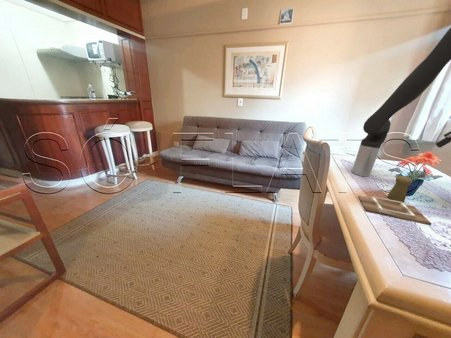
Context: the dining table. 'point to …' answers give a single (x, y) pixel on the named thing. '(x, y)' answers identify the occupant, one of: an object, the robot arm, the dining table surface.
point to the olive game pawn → (400, 189)
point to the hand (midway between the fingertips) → (445, 147)
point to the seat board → (392, 209)
